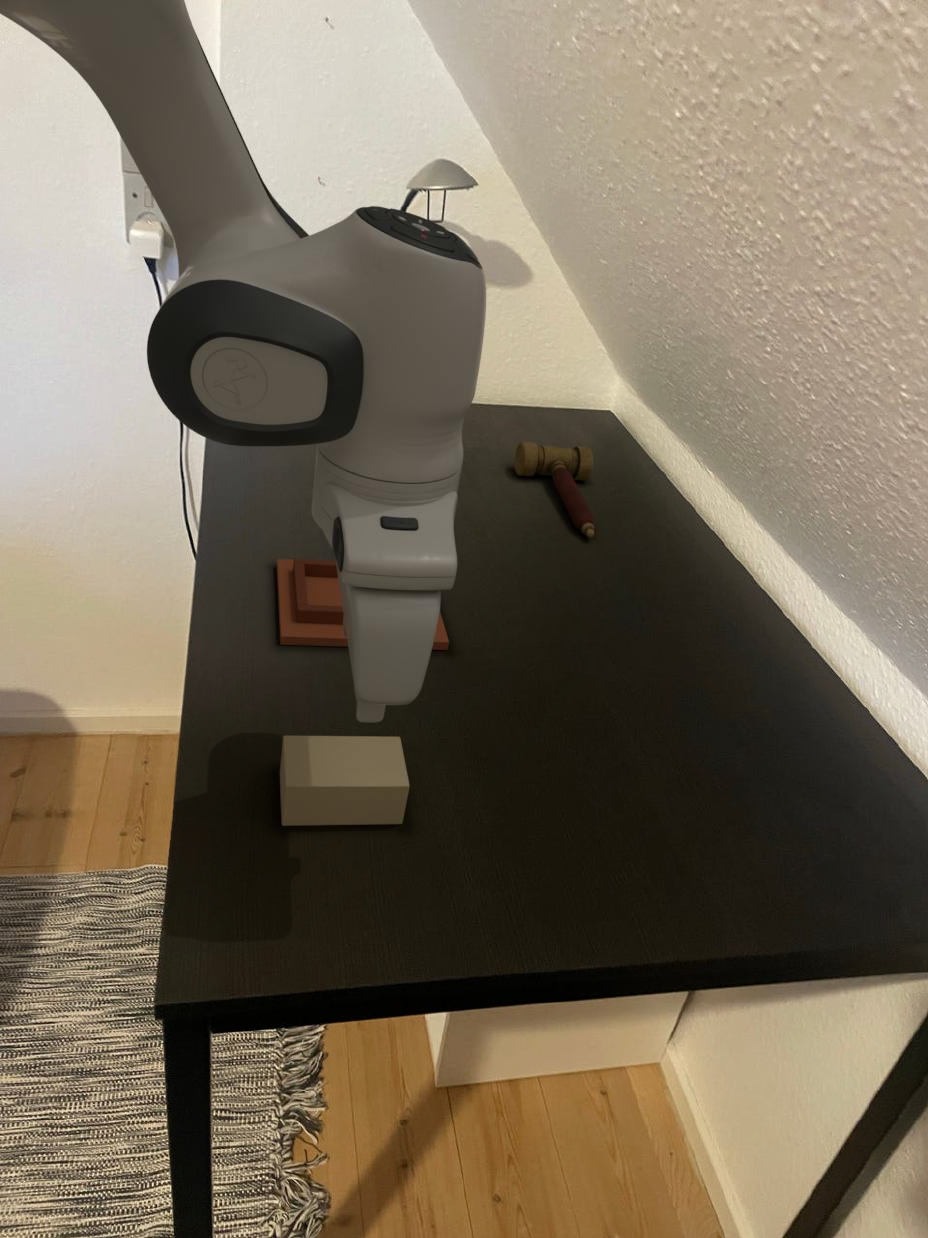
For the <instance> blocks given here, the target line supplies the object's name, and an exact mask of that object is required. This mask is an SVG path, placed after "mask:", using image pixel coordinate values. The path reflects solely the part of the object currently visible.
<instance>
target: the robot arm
mask: <svg viewBox="0 0 928 1238" xmlns="http://www.w3.org/2000/svg"><path fill="white" fill-rule="evenodd" d="M0 15H2V16H3V17H5V18H7V19H8V20H10V21H11V22H13V23H14V24H16V25H17V26H20V27H21V28H23V29H24V30H26V31H27V32H28V33H30V34H31V35H33V36H34V37H35V38H37V39H38V40H39V41H41V42H42V43H44V44H45V45H46V46H48V47H49V48H50V49H51V50H52V51H54V52H55V53H56V54H57V55H59V57H61V59H63V60H64V61H65V62H66V63H68V64H69V66H71V68H72V69H73V70H74V71H76V72H77V74H79V75H80V77H81V78H82V79H83V80H84V82H85V83H86V84H87V85H88V86H89V87H90V89H91V90H92V92H93V93H94V94H95V96H96V97H97V99H98V100H99V101H100V103H101V104H102V106H103V108H104V110H106V113H107V114H108V116H109V118H110V119H111V121H112V124H113V125H114V127H115V129H116V130H117V132H118V134H119V136H120V138H121V140H122V142H123V144H124V146H125V147H126V149H127V150H128V153H129V155H130V157H131V158H132V160H133V162H134V164H135V166H136V167H137V169H138V172H139V173H140V175H141V177H142V179H143V180H144V182H145V185H146V186H147V189H148V190H149V191H150V194H151V196H152V197H153V199H154V201H155V203H156V205H157V207H158V209H159V210H160V212H161V214H162V216H163V217H164V218H163V219H165V221H166V223H167V225H168V227H169V230H170V231H171V234H172V237H173V241H174V245H175V249H176V255H177V265H178V278H177V279H176V280H175V282H174V284H173V285H172V287H171V288H170V290H169V292H168V293H167V295H166V296H165V298H164V300H163V301H162V303H161V305H160V307H159V309H158V311H157V313H156V315H155V316H154V317H153V320H152V322H151V325H150V328H149V332H148V335H147V343H146V344H147V345H146V361H147V367H148V368H147V369H148V371H149V376H150V378H151V380H152V384H153V387H154V389H155V391H156V392H157V393H156V394H157V395H158V397H159V398H160V400H161V401H162V403H163V404H164V405H165V407H166V409H168V410H169V412H170V413H171V414H172V415H173V416H174V418H176V419H177V420H179V422H180V423H182V425H184V426H185V427H187V428H188V429H189V430H191V431H192V432H193V433H196V434H197V435H200V436H201V437H203V438H205V439H207V440H210V441H212V442H216V443H219V444H224V445H227V446H233V447H234V446H237V447H296V446H297V447H298V446H311V445H316V453H315V464H314V477H313V485H312V498H311V508H310V509H311V516H312V518H313V520H314V522H315V523H316V525H317V526H318V527H319V528H320V529H321V530H322V532H323V534H324V536H325V539H326V540H327V542H328V544H329V546H330V548H331V549H332V552H333V555H334V559H335V561H336V566H337V573H338V580H339V587H340V593H341V600H342V607H343V614H344V616H343V628H344V634H345V636H346V637H347V641H348V647H347V648H348V655H349V661H350V667H351V668H350V669H351V676H352V681H353V691H354V696H355V700H354V709H355V718H356V721H358V722H359V723H380V722H381V721H383V719H384V717H385V712H386V706H404V705H407V706H408V705H410V704H411V703H413V702H414V701H415V700H416V699H417V697H418V696H419V695H420V693H421V691H422V688H423V684H424V681H425V677H426V673H427V670H428V666H429V662H430V659H431V654H432V651H433V650H432V647H433V642H434V638H435V634H436V630H437V625H438V619H439V613H441V605H442V604H441V603H442V602H441V601H442V593H441V592H442V591H451V590H452V589H453V587H454V585H455V581H456V577H457V572H458V550H457V548H458V547H457V539H456V527H455V524H454V523H455V518H456V512H457V507H458V501H459V500H458V490H459V485H460V480H461V474H462V468H463V463H464V446H463V445H464V444H463V436H462V433H463V432H462V431H463V425H464V421H465V417H466V416H467V413H468V411H469V409H470V407H471V405H472V403H473V402H474V401H473V400H474V398H475V395H476V390H477V386H478V385H477V383H478V379H479V373H480V367H481V366H480V365H481V359H482V352H483V345H484V337H485V326H486V315H487V314H486V313H487V282H486V275H485V272H484V268H483V266H482V264H481V262H480V261H479V259H478V257H477V255H476V253H475V252H474V250H473V249H472V248H471V247H470V246H469V245H468V244H467V243H466V242H465V240H463V239H462V238H461V237H460V236H459V235H458V234H456V233H455V232H453V231H450V230H448V229H447V228H446V227H444V226H442V225H440V224H438V223H436V222H434V221H432V220H429V219H427V218H425V217H422V216H420V215H417V214H414V213H411V212H408V211H404V210H402V209H401V210H400V209H397V208H392V207H391V208H387V207H384V206H379V205H371V206H362V207H358V208H356V209H355V210H354V211H352V212H351V214H349V215H348V216H346V217H345V218H344V219H342V220H340V221H338V222H336V223H334V224H332V225H330V226H328V227H326V228H324V229H322V230H319V231H317V232H315V233H312V234H309V233H308V232H307V231H306V230H305V229H304V228H303V227H302V226H301V225H299V223H298V222H297V221H296V220H295V219H293V217H291V215H290V214H289V213H288V212H286V210H285V209H284V208H283V207H282V206H281V204H279V202H278V201H277V200H276V199H275V197H274V196H273V195H272V193H271V191H270V190H269V189H268V187H267V185H266V183H265V182H264V180H263V178H262V177H261V174H260V172H259V170H258V168H257V166H256V163H255V162H254V158H253V157H252V154H251V152H250V150H249V148H248V146H247V143H246V142H245V139H244V137H243V135H242V132H241V131H240V128H239V125H238V123H237V122H236V120H235V117H234V115H233V113H232V111H231V109H230V106H229V103H228V102H227V99H226V98H225V95H224V93H223V91H222V89H221V87H220V84H219V82H218V80H217V78H216V76H215V73H214V71H213V69H212V67H211V64H210V62H209V60H208V58H207V55H206V53H205V51H204V49H203V46H202V44H201V42H200V40H199V37H198V35H197V32H196V30H195V28H194V25H193V23H192V20H191V17H190V15H189V11H188V7H187V5H186V2H185V0H0Z"/></svg>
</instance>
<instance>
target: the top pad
mask: <svg viewBox="0 0 928 1238" xmlns="http://www.w3.org/2000/svg"><path fill="white" fill-rule="evenodd" d="M405 760H406V759H405V754H404V750H403V745H402V740H401V737H400V736H375V735H374V736H373V735H371V736H370V735H369V736H367V735H366V736H365V735H364V736H363V735H361V736H360V735H283V736H282V744H281V757H280V767H279V787H280V789H279V790H280V791H279V792H280V812H281V813H280V816H281V826H283V827H287V826H289V827H291V826H292V827H294V826H360V825H365V826H367V825H402V824H403V822H404V818H405V811H406V807H407V802H408V796H409V791H410V786H411V785H410V780H409V775H408V769H407V765H406V761H405Z"/></svg>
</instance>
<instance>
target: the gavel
mask: <svg viewBox="0 0 928 1238" xmlns="http://www.w3.org/2000/svg"><path fill="white" fill-rule="evenodd" d="M593 467H594V454H593V451H592V448H590V447H587V446H574V447H573V448H572V449H571V448H570V447H561V446H551V445H550V446H549V445H540V446H538V445H537V443H536V442H532V441H520V442H519V443H518V444H517V446H516V450H515V453H514V470H515V473H516V474H517V476H522V477H533V476H534V475H535V474H537V475H539V476H550V477H552V481H553V485H554V486H555V488H556V490H557V492H558V495H559V496H560V498H561V501H562V503H563V504H564V506H565V509H566V512H567V513H568V515H569V518H570V519H571V522H572V523H573V526H574V527H575V528H576V530H578V531H580V532H581V533H582V534H583V535H584V536H586V537H587V538H590V539H591V538H594V537H595V518H594V516H593V514H592V511H591V510H590V508H589V505H588V504H587V502H586V500H585V499H584V497H583V494H582V493H581V491H580V489H579V486H578V485H577V483H576V481H588V479H589V478H590V477H591V475H592V472H593Z"/></svg>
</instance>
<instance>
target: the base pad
mask: <svg viewBox="0 0 928 1238" xmlns="http://www.w3.org/2000/svg"><path fill="white" fill-rule="evenodd" d="M276 581H277V584H276V585H277V601H278V602H277V603H278V604H277V605H278V621H279V622H278V624H279V626H278V627H279V644H280V645H283V646H284V645H285V646H312V647H342V648H348V641H347V637H346V636H345V634H344V628H343V616H344V614H343V607H342V600H341V593H340V587H339V580H338V573H337V566H336V560H332V559H330V560H329V559H314V558H312V559H311V558H293V559H290V558H289V559H286V558H277V560H276ZM447 634H448V633H447V630H446V627H445V623H444V620H443V616H442V614H441V612H440V613H439V619H438V625H437V630H436V634H435V638H434V642H433V647H432V651H434V650H435V651H448V650H449V644H450V639H449V638H448V635H447Z"/></svg>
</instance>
